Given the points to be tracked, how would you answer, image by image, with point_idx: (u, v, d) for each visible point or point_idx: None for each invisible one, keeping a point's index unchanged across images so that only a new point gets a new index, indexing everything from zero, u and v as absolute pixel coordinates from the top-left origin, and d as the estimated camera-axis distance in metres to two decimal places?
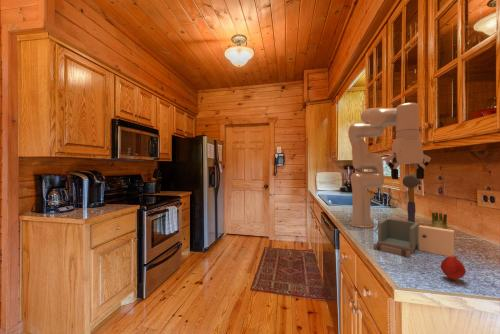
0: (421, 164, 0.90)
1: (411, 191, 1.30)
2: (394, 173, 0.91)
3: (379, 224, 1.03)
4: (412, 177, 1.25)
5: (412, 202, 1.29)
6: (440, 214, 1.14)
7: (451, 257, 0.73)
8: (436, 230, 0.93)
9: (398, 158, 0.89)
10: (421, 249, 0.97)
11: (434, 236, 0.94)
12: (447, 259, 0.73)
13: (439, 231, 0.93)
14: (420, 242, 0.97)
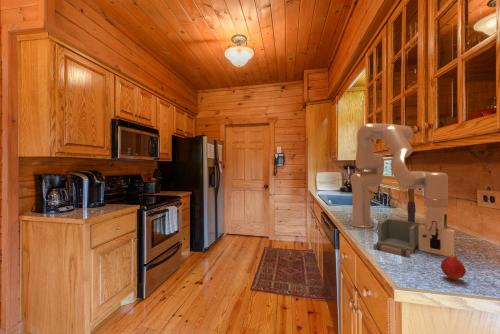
0: None
1: (411, 191, 1.30)
2: (437, 243, 0.93)
3: (379, 224, 1.03)
4: None
5: (412, 202, 1.29)
6: None
7: (451, 257, 0.73)
8: (436, 230, 0.93)
9: (440, 227, 0.90)
10: (421, 249, 0.97)
11: None
12: (447, 259, 0.73)
13: None
14: (420, 242, 0.97)
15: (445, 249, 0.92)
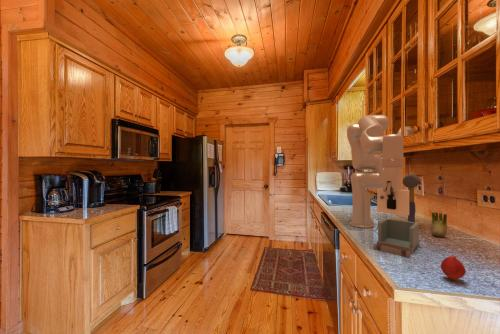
0: None
1: (411, 191, 1.30)
2: (393, 203, 0.94)
3: (379, 224, 1.03)
4: (412, 177, 1.25)
5: (412, 202, 1.29)
6: (440, 214, 1.14)
7: (451, 257, 0.73)
8: (392, 190, 0.95)
9: (394, 187, 0.92)
10: (379, 211, 0.99)
11: None
12: (447, 259, 0.73)
13: None
14: (378, 204, 0.99)
15: (400, 208, 0.94)
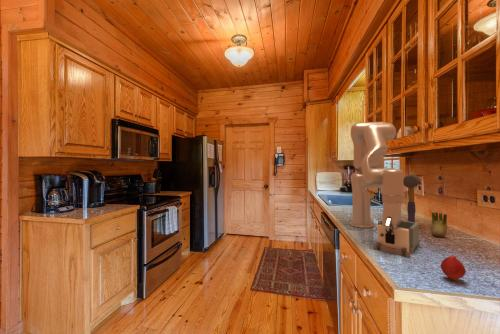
0: (398, 225, 0.99)
1: (411, 191, 1.30)
2: (391, 238, 0.93)
3: None
4: (412, 177, 1.25)
5: (412, 202, 1.29)
6: (440, 214, 1.14)
7: (451, 257, 0.73)
8: None
9: (395, 223, 0.92)
10: None
11: None
12: (447, 259, 0.73)
13: (395, 230, 0.95)
14: (378, 241, 1.00)
15: (400, 248, 0.94)
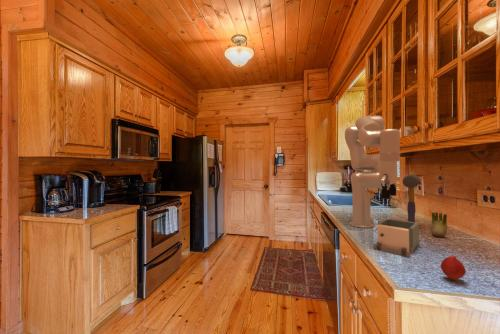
0: (395, 183, 1.03)
1: (411, 191, 1.30)
2: (387, 193, 0.97)
3: None
4: (412, 177, 1.25)
5: (412, 202, 1.29)
6: (440, 214, 1.14)
7: (451, 257, 0.73)
8: (392, 229, 0.96)
9: (391, 179, 0.97)
10: None
11: (390, 235, 0.96)
12: (447, 259, 0.73)
13: (395, 230, 0.95)
14: (378, 241, 1.00)
15: (400, 248, 0.94)
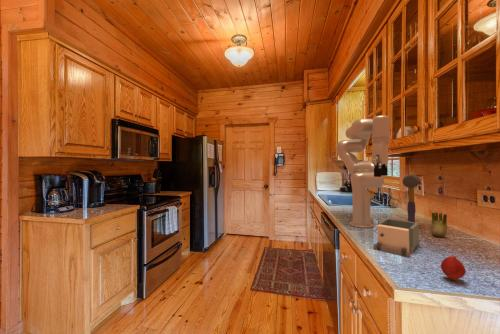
0: (386, 164, 1.16)
1: (411, 191, 1.30)
2: (379, 172, 1.10)
3: None
4: (412, 177, 1.25)
5: (412, 202, 1.29)
6: (440, 214, 1.14)
7: (451, 257, 0.73)
8: (392, 229, 0.96)
9: (382, 159, 1.09)
10: None
11: (390, 235, 0.96)
12: (447, 259, 0.73)
13: (395, 230, 0.95)
14: (378, 241, 1.00)
15: (400, 248, 0.94)
